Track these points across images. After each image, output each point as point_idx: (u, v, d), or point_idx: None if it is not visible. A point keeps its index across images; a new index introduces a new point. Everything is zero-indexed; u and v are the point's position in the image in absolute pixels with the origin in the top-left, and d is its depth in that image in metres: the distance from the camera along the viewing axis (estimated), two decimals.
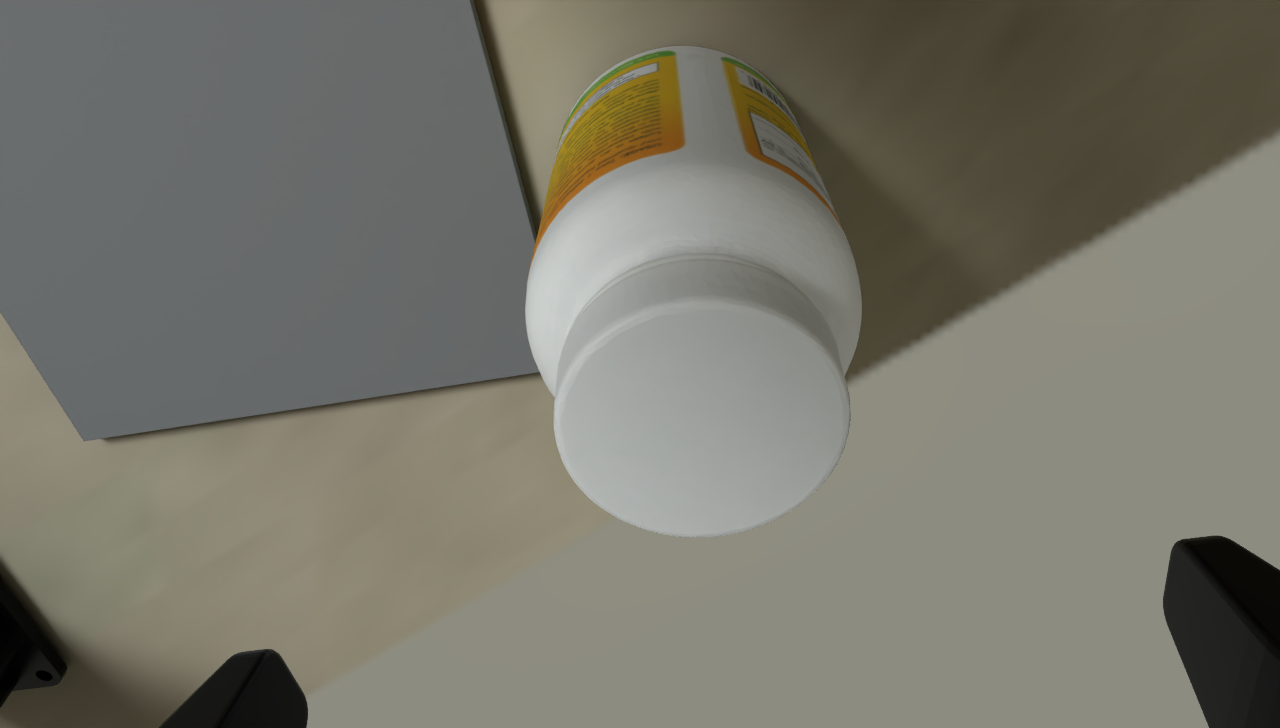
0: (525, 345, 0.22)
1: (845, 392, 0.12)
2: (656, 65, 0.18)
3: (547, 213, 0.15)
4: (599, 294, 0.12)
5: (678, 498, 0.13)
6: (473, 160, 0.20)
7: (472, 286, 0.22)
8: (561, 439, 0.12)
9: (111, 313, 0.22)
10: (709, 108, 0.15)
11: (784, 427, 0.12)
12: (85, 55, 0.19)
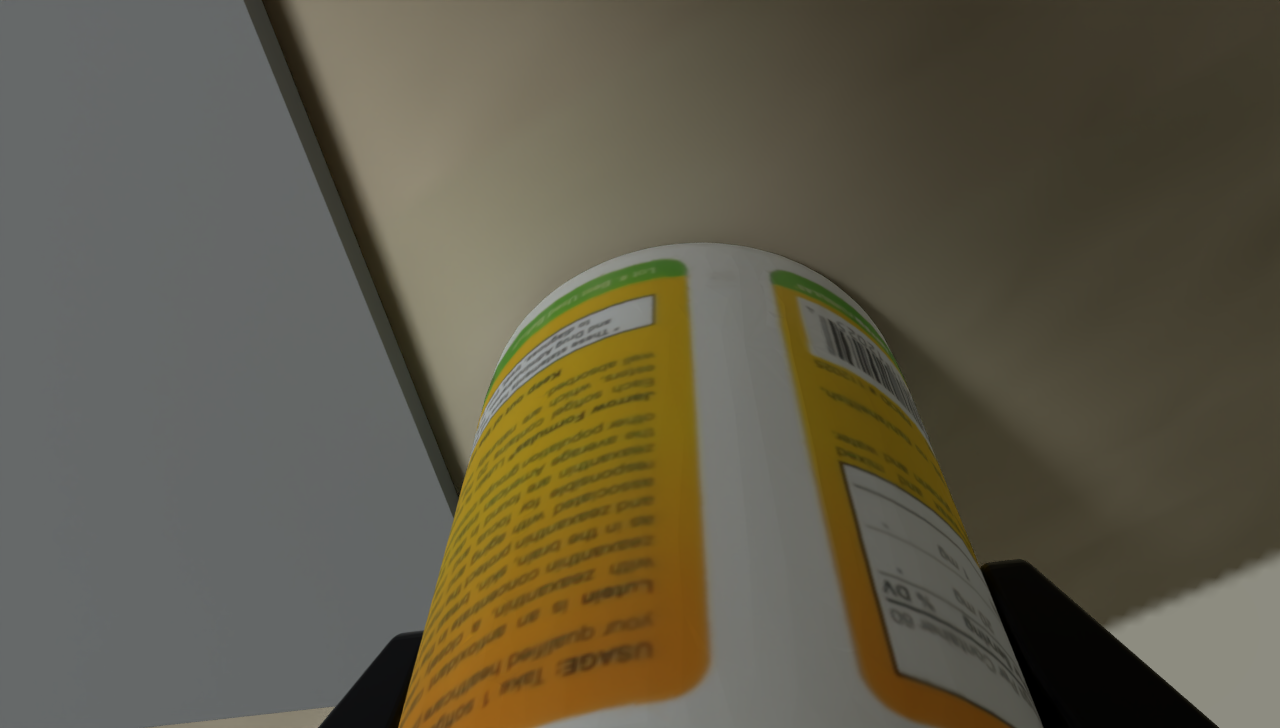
0: None
1: None
2: (650, 304, 0.09)
3: (408, 718, 0.07)
4: None
5: None
6: (346, 416, 0.12)
7: (363, 584, 0.14)
8: None
9: None
10: (759, 472, 0.07)
11: None
12: None
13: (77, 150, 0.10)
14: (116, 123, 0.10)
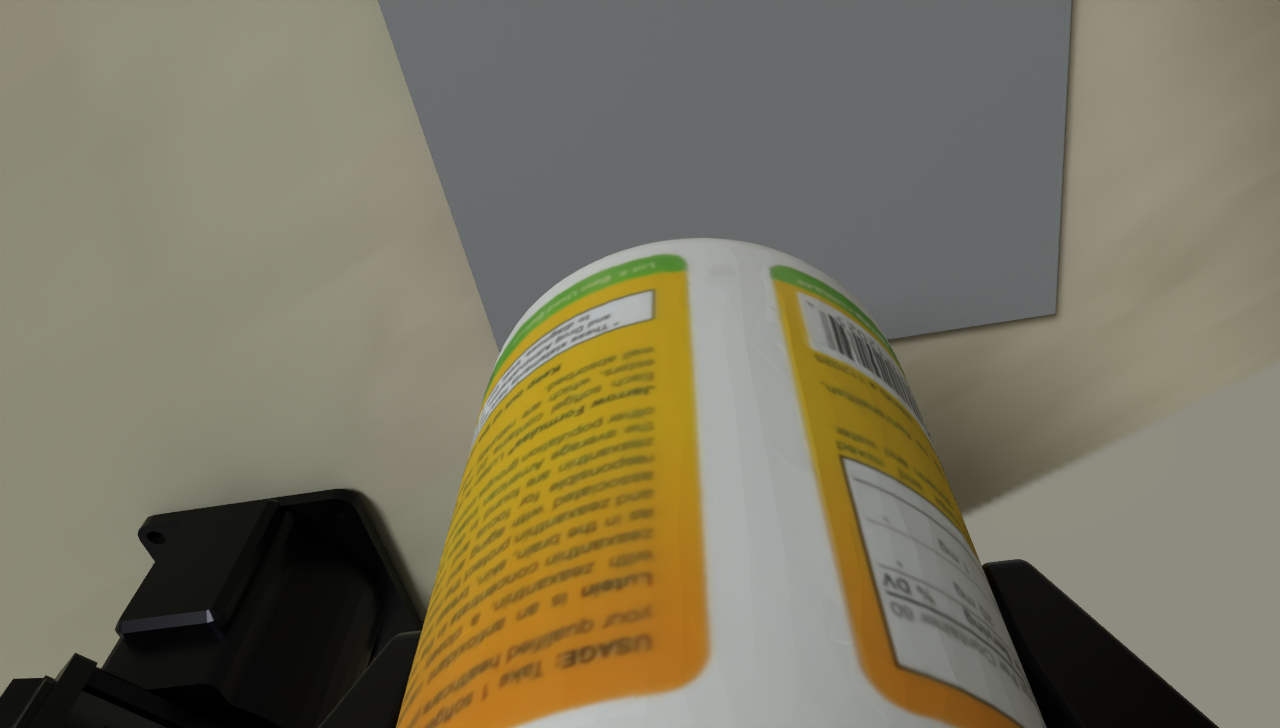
0: (1015, 289, 0.21)
1: None
2: (650, 298, 0.09)
3: (407, 712, 0.07)
4: None
5: None
6: (1024, 84, 0.18)
7: (980, 224, 0.20)
8: None
9: (584, 258, 0.21)
10: (759, 466, 0.07)
11: None
12: None
13: None
14: None
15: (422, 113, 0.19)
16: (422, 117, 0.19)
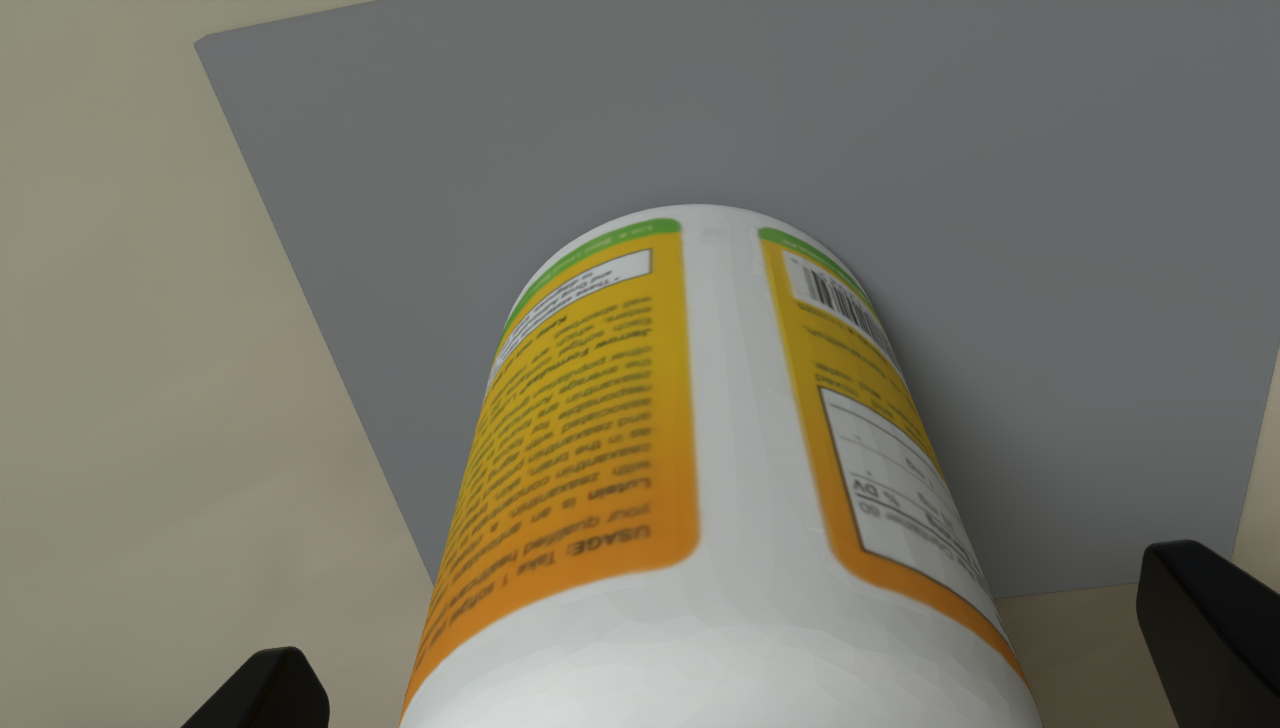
0: None
1: None
2: (648, 255, 0.10)
3: (434, 611, 0.08)
4: None
5: None
6: (1227, 285, 0.12)
7: (1136, 464, 0.14)
8: None
9: None
10: (744, 392, 0.08)
11: None
12: (647, 121, 0.11)
13: (1131, 5, 0.10)
14: None
15: (320, 310, 0.13)
16: (319, 316, 0.13)
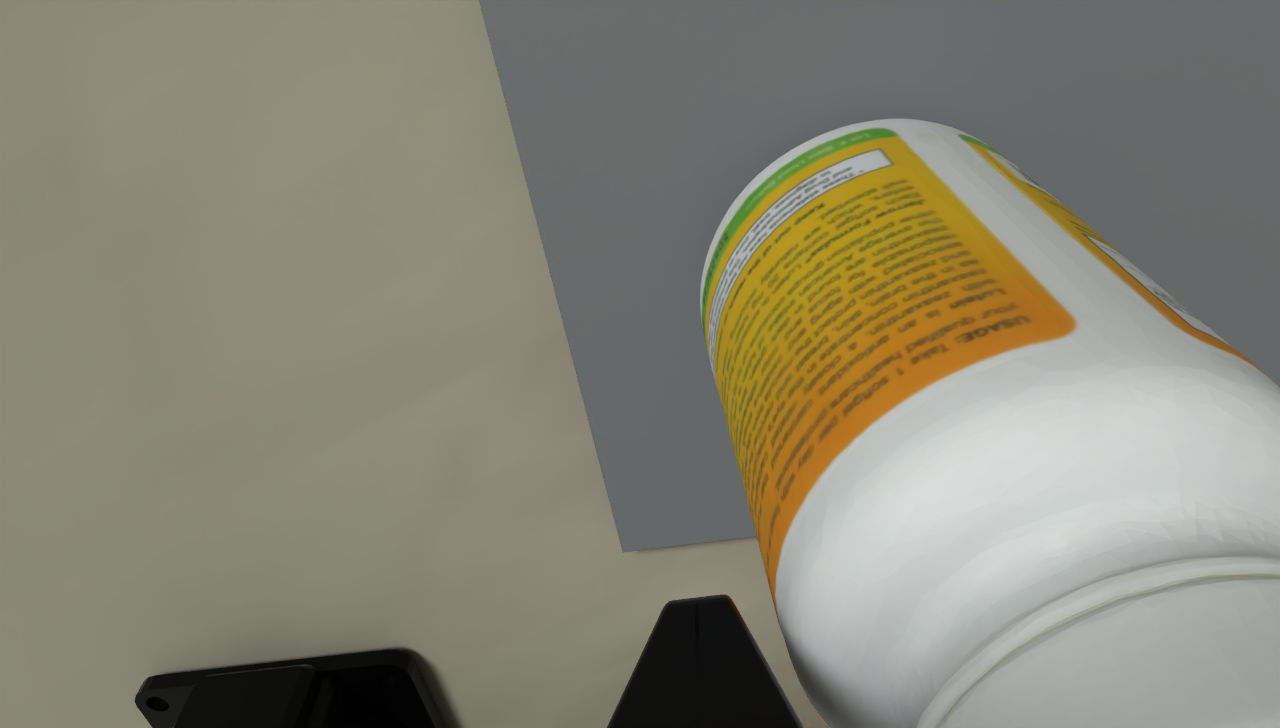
0: None
1: None
2: (881, 153, 0.12)
3: (801, 421, 0.09)
4: (1024, 638, 0.07)
5: None
6: None
7: None
8: None
9: None
10: (1036, 235, 0.10)
11: None
12: (852, 42, 0.13)
13: None
14: None
15: (541, 214, 0.14)
16: (541, 219, 0.14)
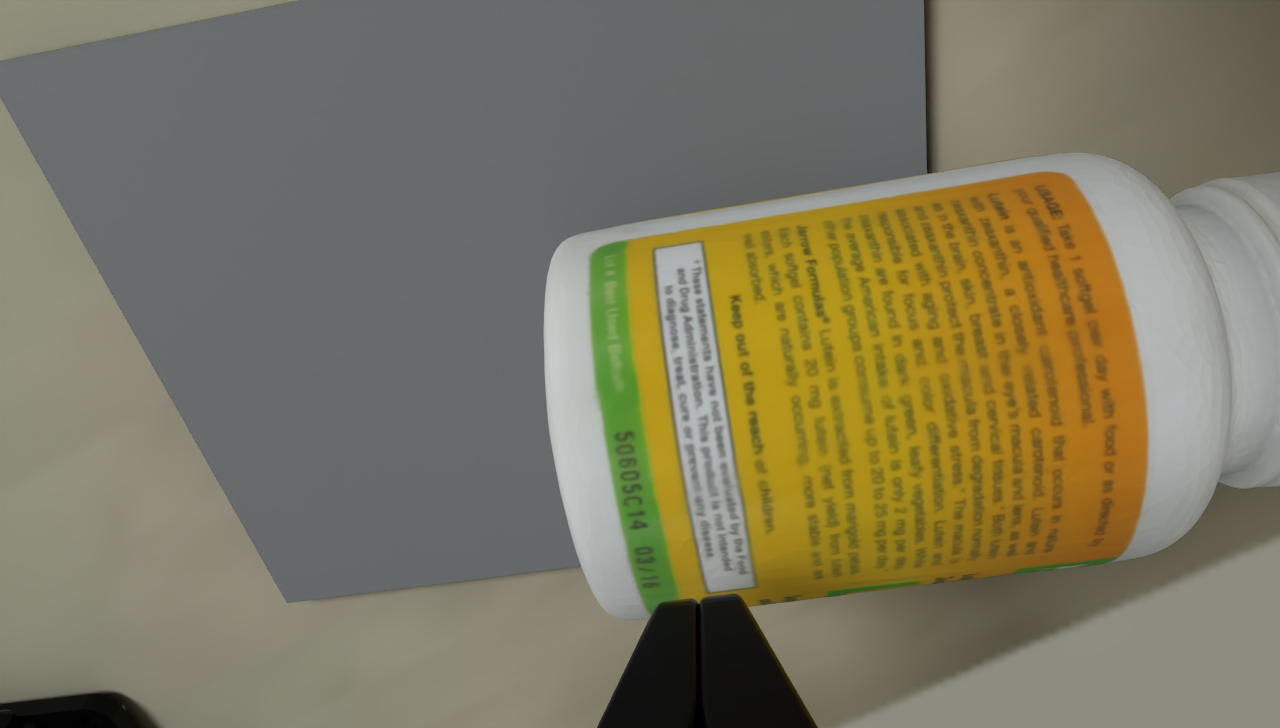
0: None
1: None
2: (667, 248, 0.11)
3: (1057, 362, 0.10)
4: None
5: None
6: None
7: None
8: None
9: (348, 456, 0.17)
10: (879, 187, 0.12)
11: None
12: (367, 132, 0.13)
13: (744, 39, 0.13)
14: (785, 16, 0.12)
15: (118, 291, 0.15)
16: (117, 296, 0.15)
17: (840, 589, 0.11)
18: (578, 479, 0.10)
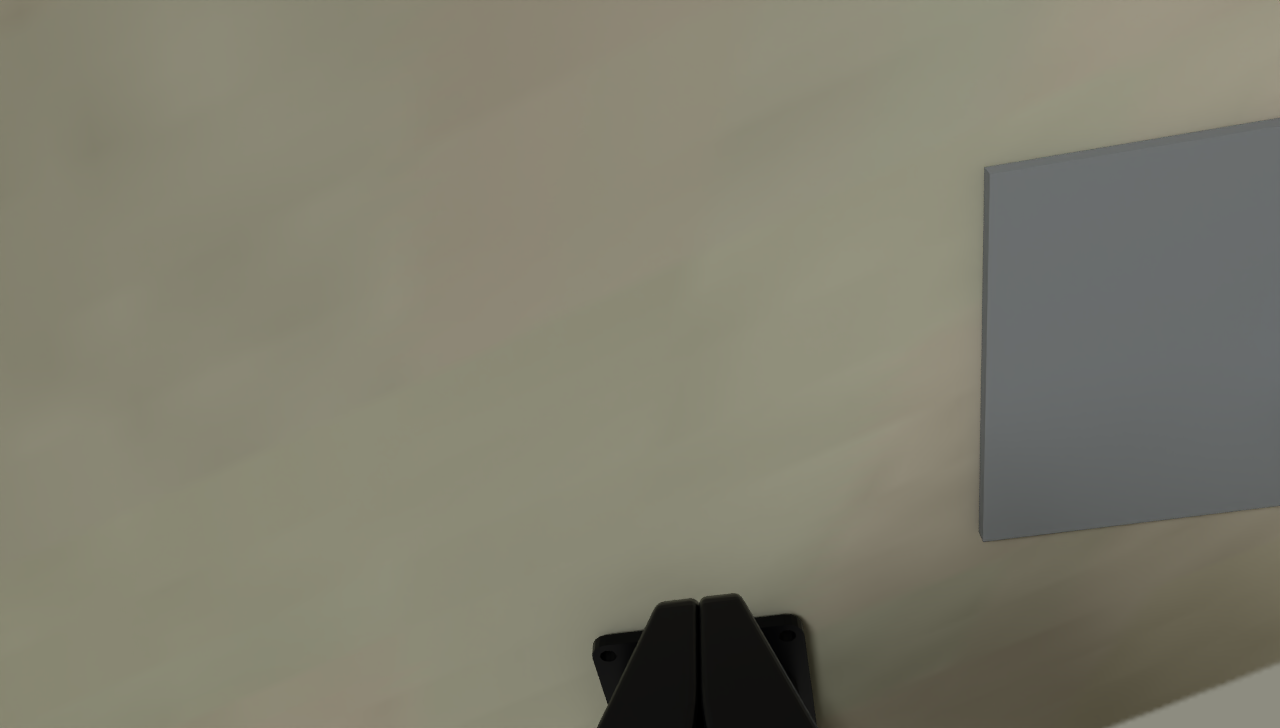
0: None
1: None
2: None
3: None
4: None
5: None
6: None
7: None
8: None
9: (1090, 432, 0.24)
10: None
11: None
12: (1223, 214, 0.20)
13: None
14: None
15: (991, 317, 0.22)
16: (991, 321, 0.22)
17: None
18: None
